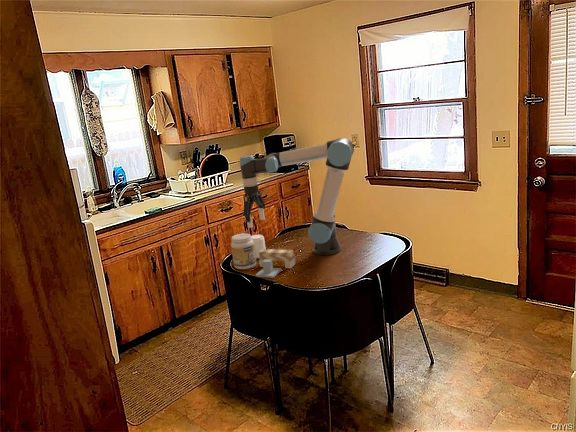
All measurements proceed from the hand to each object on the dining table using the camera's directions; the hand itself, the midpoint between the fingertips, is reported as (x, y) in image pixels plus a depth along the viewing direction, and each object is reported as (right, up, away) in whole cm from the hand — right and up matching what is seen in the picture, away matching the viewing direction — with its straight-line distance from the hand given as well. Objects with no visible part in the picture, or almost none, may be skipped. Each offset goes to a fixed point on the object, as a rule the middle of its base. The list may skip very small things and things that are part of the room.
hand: (256, 223), depth 250 cm
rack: (+11, -22, -3) cm, 25 cm away
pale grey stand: (+7, -25, -12) cm, 29 cm away
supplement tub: (-6, -23, +2) cm, 24 cm away
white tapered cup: (+1, -19, +13) cm, 23 cm away
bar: (+11, -19, -4) cm, 22 cm away
